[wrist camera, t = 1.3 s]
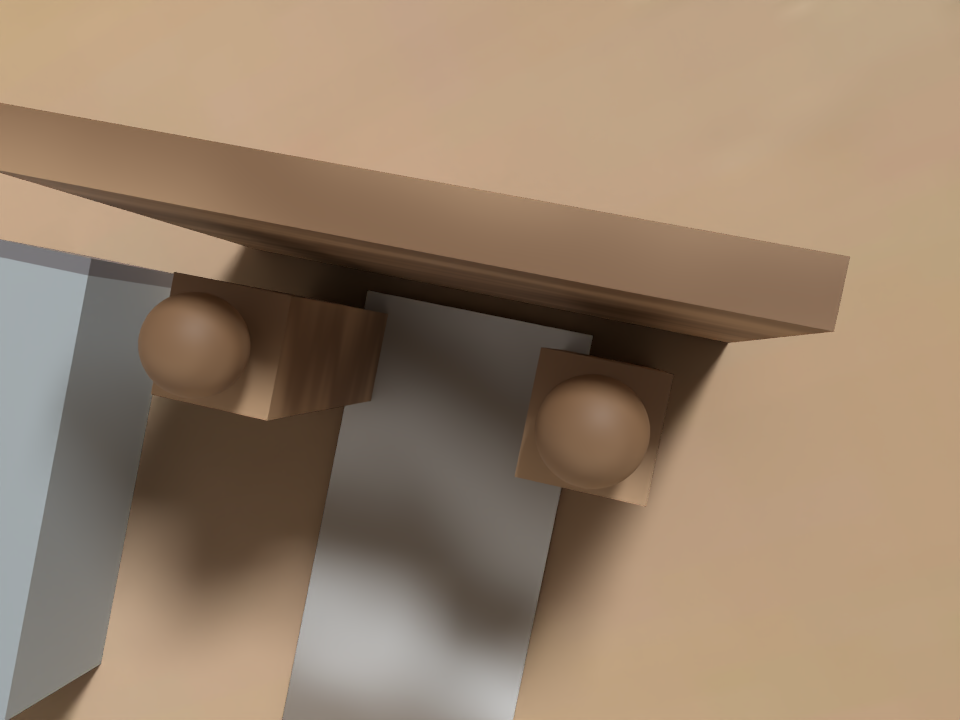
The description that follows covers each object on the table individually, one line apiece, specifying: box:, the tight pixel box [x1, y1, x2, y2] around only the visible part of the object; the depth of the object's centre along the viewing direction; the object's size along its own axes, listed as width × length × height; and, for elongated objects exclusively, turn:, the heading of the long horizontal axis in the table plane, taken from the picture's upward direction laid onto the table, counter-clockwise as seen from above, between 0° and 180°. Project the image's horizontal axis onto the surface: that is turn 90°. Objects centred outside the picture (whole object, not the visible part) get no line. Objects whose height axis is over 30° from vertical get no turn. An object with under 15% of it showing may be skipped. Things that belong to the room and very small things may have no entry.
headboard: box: [0, 103, 850, 720], centre depth 27 cm, size 23×19×16 cm
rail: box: [0, 239, 174, 720], centre depth 34 cm, size 17×4×6 cm, turn 168°
